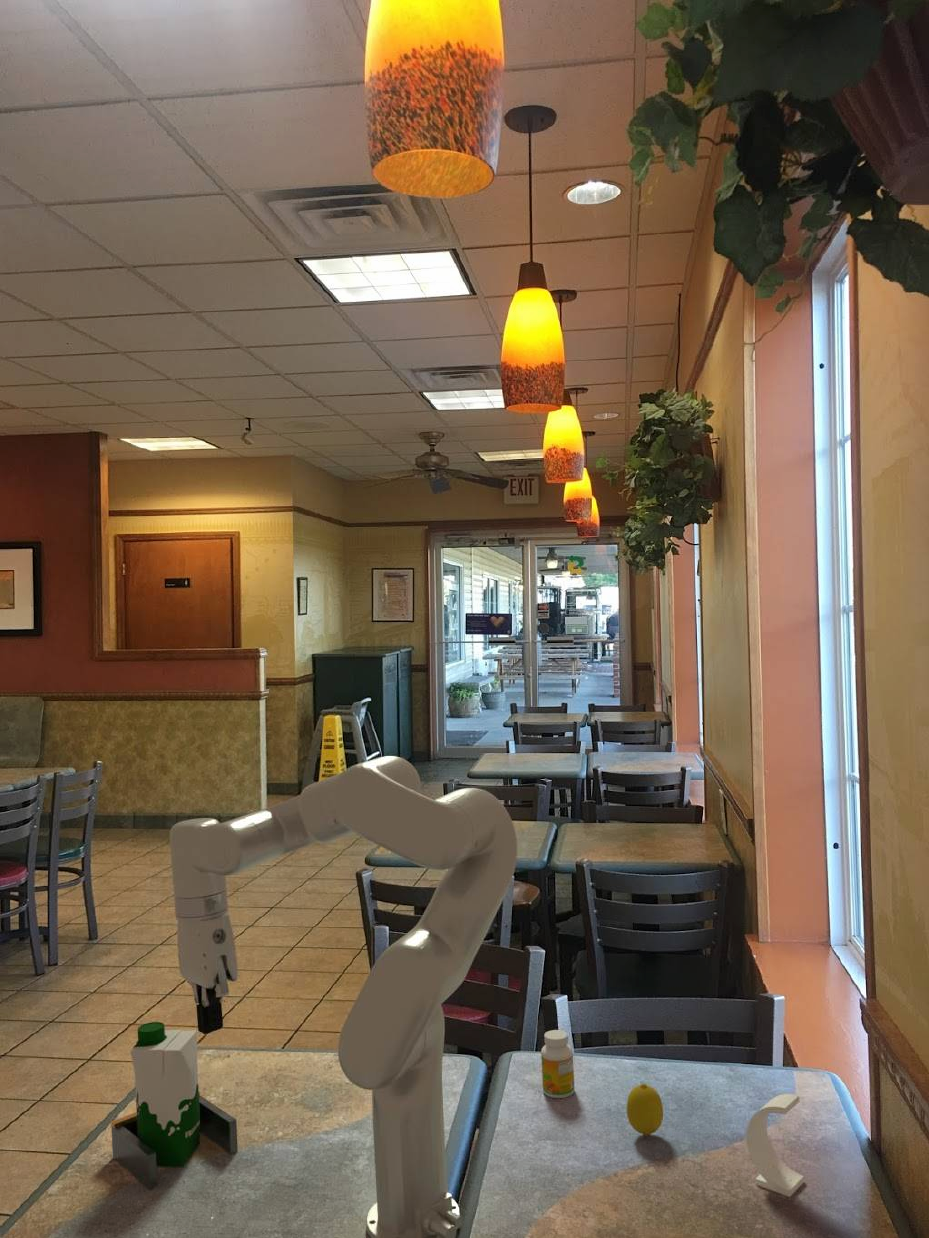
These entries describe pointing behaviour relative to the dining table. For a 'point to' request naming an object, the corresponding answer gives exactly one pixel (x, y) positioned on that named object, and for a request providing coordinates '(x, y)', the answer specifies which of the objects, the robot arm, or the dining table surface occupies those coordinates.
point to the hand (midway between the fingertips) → (210, 1029)
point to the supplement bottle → (557, 1065)
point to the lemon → (644, 1109)
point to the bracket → (143, 1158)
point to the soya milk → (167, 1092)
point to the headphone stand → (771, 1149)
